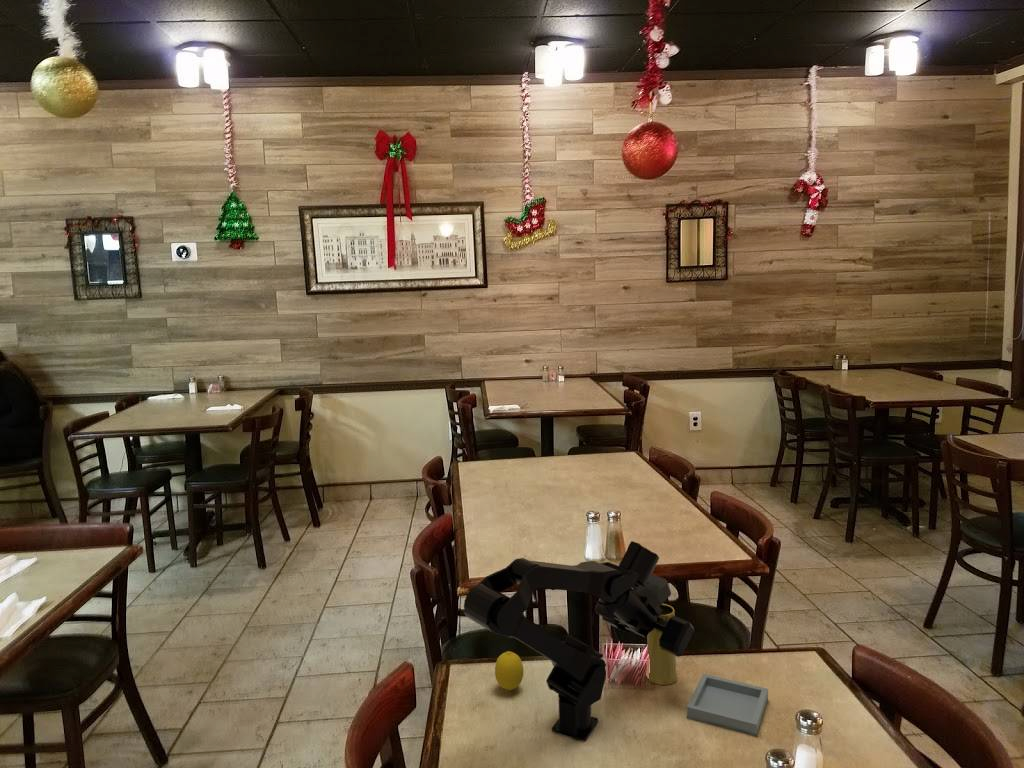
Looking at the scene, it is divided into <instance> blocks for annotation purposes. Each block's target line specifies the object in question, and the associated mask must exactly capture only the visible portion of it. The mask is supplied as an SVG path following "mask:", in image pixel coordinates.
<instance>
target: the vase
mask: <svg viewBox="0 0 1024 768" xmlns="http://www.w3.org/2000/svg"><path fill="white" fill-rule="evenodd" d="M659 607H660V608H661V609H662V612H661V614H660V616H658V615H657V617H659V618H661V619H663V620H666V621H669V619H670V618H671V617H673V616H676V615H675V614H676V613H675V612H676V611H675V609H674V607H673V606H672V605H671V604H670V605H669V604H666V603H663V604H662V605H661V606H659ZM658 624H659V623H658ZM660 625H661V624H660ZM661 635H662V633H661V632H659V631H657V630H654V629H653V630H652V631H651V632H649V633H648V635H647V637H646V638H647V640H646V641H647V650H648V651H647V650H646V651H647V652H648V654H649V658H650V673H649V680H648V681H649V682H650V683H652V684H655V685H659V686H668V685H672V684H674V683H675V682H676V681H677V680H678V677H677V668H676V667H677V666H676V664H677V660H676V659H677V658H676V657H677V656H676V655H674V654H671V653H669V652H667V651H665V650H663V649H661V647H660V646H659V639H660V637H661ZM647 652H646V653H647Z"/></svg>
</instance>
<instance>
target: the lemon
mask: <svg viewBox="0 0 1024 768" xmlns="http://www.w3.org/2000/svg"><path fill="white" fill-rule="evenodd" d="M494 665H495V666H494V675H495V679H496V682H497V684H498V685H499V686H500V687H501V688H503V689H504V690H507V691H510V692H511V691H513V690H514V689H515V688H517V687H519V686H520V685H521V684H522V681H523V678H524V665H523V662H522V659H521V658H520V656H519V655H518V654H516V653H515V652H513V651H509V650H507V651H506V652H505V651H504V652H503V653H502V654H500V655H499V656H498V657H497V659H496V662H495V664H494Z"/></svg>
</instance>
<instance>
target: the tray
mask: <svg viewBox="0 0 1024 768" xmlns="http://www.w3.org/2000/svg"><path fill="white" fill-rule="evenodd" d="M768 700H769V688H766V687H762V686H758V685H755V684H754V685H753V684H749V683H745V682H740V681H736V680H731V679H728V678H723V677H719V676H715V675H710V674H707V673H702V675H701V677H700V679H699V681H698V683H697V684H696V687H695V689H694V691H693V693H692V695H691V698H690V700H689V702H688V704H687V706H686V719H688V720H692V721H696V722H700V723H704V724H708V725H711V726H715V727H719V728H723V729H727V730H730V731H734V732H738V733H741V734H746V735H747V736H748V735H749V736H753V737H755V738H757V737H758V734H759V731H760V727H761V724H762V720H763V718H764V717H763V716H764V714H765V710H766V707H767V705H768Z"/></svg>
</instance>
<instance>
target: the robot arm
mask: <svg viewBox="0 0 1024 768" xmlns="http://www.w3.org/2000/svg"><path fill="white" fill-rule="evenodd" d="M659 560H660V556H659V555H658V554H657V553H656V552H653V551H651V550H649V549H648V548H646V547H645V546H643V545H642V544H641V543H639V542H636V541H634V540H631V541H630V542H629V544H628V546H627V549H626V552H625V554H624V555H623V557H622V558H621V560H620V562H619V564H618V565H617V564H616V563H615V564H614V563H612V562H609V561H605V562H598V561H595V560H590V561H581V562H579V563H578V564H574V565H569V564H560V563H553V562H544V561H537V560H529V559H527V558H524V557H520V558H516V559H514V560H513V561H512V562H510V563H509V564H508V565H507V566H506V567H504V568H501V569H500V570H498V571H495V572H493V573H491V574H489V575H487V576H486V577H484V578H483V579H482V580H481V581H480V582H479V583H477V584H476V585H475V586H474V587H472V588H471V589H470V590H469V592H468V593H467V595H466V597H465V598H464V602H463V613H464V615H465V617H467V618H468V619H469V620H471V621H473V622H474V623H476V624H478V625H480V626H481V627H482V628H485V629H486V630H488V631H490V632H491V633H493V634H496V635H499V636H503V637H505V638H514V639H516V640H518V641H519V642H521V643H523V644H524V645H526V646H527V647H529V648H530V649H532V650H534V651H535V652H537V653H539V655H541V656H544V657H545V658H546V659H548V660H549V661H551V664H552V666H553V668H552V669H551V671H550V673H549V674H548V676H547V678H546V684H547V687H548V689H549V690H551V691H553V692H555V693H556V694H557V695H558V719H557V720H556V721H555V722H554V724H553V726H552V727H551V731H552V732H553V733H556V734H559V735H562V736H565V737H568V738H572V739H575V740H579V741H582V742H585V741H586V740H587V739H588V738H589V736H590V735H591V734H592V733H593V731H594V729H595V727H597V725H598V723H599V718H598V717H595V716H592V705H593V704H595V703H597V702H599V701H600V700H601V699H602V695H603V691H604V685H605V682H606V677H607V671H606V667H607V663H606V662H605V660H604V659H603V657H604V654H603V653H600V652H599V651H597V650H595V649H594V648H592V647H591V646H590V645H589V644H586V643H584V642H582V641H580V640H579V639H577V638H575V637H573V636H572V635H569V634H566V636H565V638H564V641H563V640H561V639H560V638H558V637H556V636H555V635H553V634H552V633H551V632H549V631H547V630H546V629H544V628H543V627H541V626H540V625H538V624H537V623H535V622H533V621H532V620H531V619H529V618H527V616H525V613H524V612H526V610H527V609H528V607H529V604H530V602H531V599H532V597H533V594H534V593H535V592H536V590H538V589H546V590H547V589H548V590H559V591H570V592H580V593H583V594H586V595H589V596H592V597H595V598H597V599H599V600H597V601H596V606H595V614H597V615H599V616H601V617H602V621H604V622H605V623H606V624H607V625H609V626H612V627H614V628H616V629H618V630H621V631H623V632H625V633H630V634H635V635H639V636H641V637H643V638H647V635H648V633H649V632H651V631H652V630H653V629H654V630H657V631H659V632H661V633H662V635H661V637H660V639H659V646H660V647H661V649H663V650H665V651H667V652H669V653H671V654H674V655H676V657H677V658H680V657H681V656H683V655H684V653H685V651H686V648H687V646H688V644H689V642H690V640H691V638H692V636H693V634H694V632H695V629H694V625H693V624H691V623H690V621H687V620H685V619H683V618H680V617H678V616H676V615H675V616H673V617H671V618H670V619H669V621H666V620H663V619H661V618H659V617H657V615H658V616H660V614H661V612H662V609H661V608H660V607H659V606H661V605H662V604H665V601H666V600H667V599H668V598H670V596H671V595H672V591H671V589H670V585H669V582H668V580H667V579H666V578H663V577H661V576H659V575H655V574H652V573H653V572H654V570H655V569H656V566H657V564H658V563H659ZM517 584H519V585H518V587H517V590H516V592H515V593H514V594H513V595H511V597H509V596H508V595H506V594H504V593H502V591H505V590H507V589H510V588H512V587H513V586H516V585H517ZM658 623H659V624H658ZM660 624H661V625H660Z"/></svg>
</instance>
